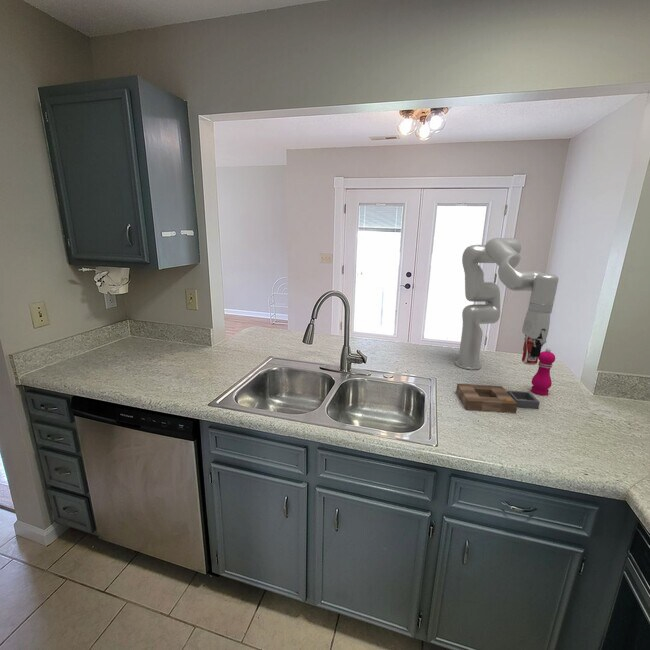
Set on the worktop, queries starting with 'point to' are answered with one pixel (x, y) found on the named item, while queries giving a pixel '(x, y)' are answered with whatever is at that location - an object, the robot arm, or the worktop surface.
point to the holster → (528, 403)
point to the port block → (486, 398)
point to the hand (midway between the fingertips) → (531, 353)
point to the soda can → (527, 350)
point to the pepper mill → (543, 373)
